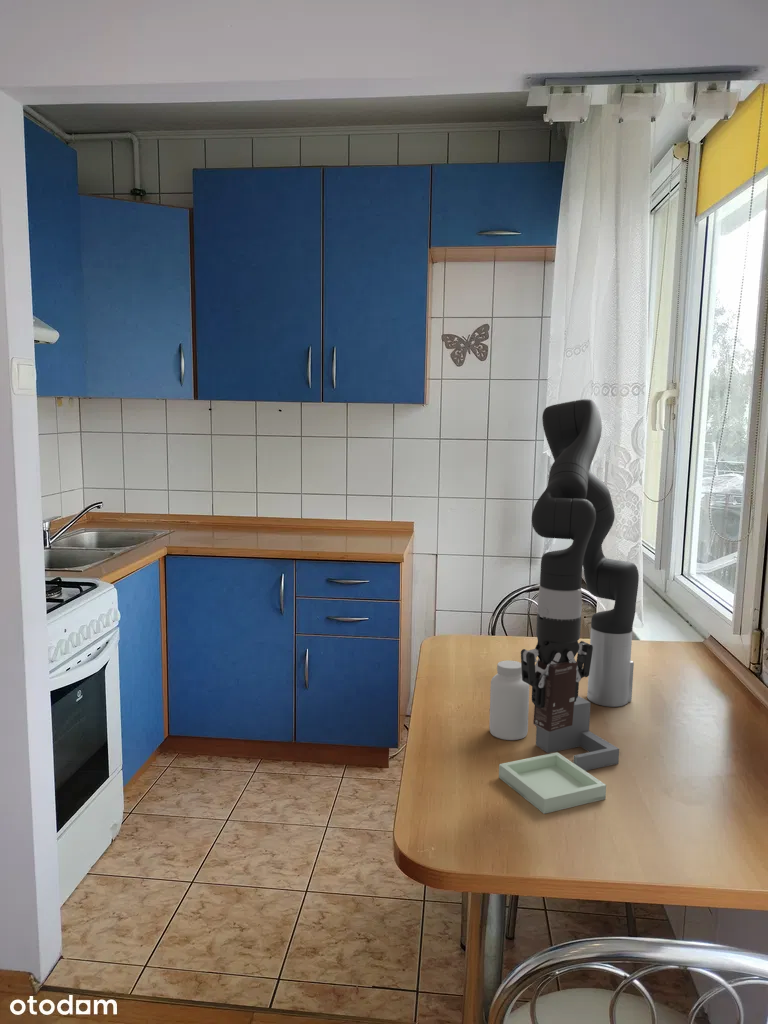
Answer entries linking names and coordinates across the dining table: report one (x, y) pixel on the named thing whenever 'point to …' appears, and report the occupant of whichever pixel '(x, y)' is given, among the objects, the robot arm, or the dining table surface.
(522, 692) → the pill bottle
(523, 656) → the robot arm
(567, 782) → the tray
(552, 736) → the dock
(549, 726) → the box
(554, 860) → the dining table surface
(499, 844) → the dining table surface
